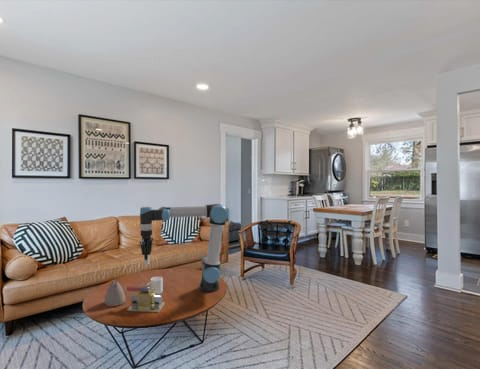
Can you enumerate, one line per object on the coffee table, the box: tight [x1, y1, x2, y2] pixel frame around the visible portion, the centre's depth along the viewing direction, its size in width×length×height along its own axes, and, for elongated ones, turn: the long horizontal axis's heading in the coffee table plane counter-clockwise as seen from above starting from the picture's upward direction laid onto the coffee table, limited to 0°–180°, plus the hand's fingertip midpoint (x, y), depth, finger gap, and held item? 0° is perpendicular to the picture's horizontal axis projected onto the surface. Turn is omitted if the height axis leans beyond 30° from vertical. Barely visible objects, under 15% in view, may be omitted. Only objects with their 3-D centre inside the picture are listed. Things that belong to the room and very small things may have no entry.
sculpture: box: [104, 279, 126, 308], centre depth 184 cm, size 13×12×15 cm
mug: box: [145, 276, 164, 295], centre depth 199 cm, size 12×8×10 cm
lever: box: [126, 285, 151, 293], centre depth 179 cm, size 15×4×3 cm, turn 83°
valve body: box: [126, 288, 166, 313], centre depth 178 cm, size 20×12×10 cm, turn 87°
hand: (147, 264), depth 188 cm, fingers closed
